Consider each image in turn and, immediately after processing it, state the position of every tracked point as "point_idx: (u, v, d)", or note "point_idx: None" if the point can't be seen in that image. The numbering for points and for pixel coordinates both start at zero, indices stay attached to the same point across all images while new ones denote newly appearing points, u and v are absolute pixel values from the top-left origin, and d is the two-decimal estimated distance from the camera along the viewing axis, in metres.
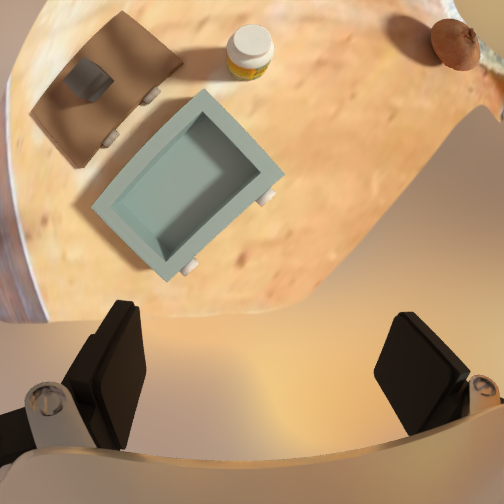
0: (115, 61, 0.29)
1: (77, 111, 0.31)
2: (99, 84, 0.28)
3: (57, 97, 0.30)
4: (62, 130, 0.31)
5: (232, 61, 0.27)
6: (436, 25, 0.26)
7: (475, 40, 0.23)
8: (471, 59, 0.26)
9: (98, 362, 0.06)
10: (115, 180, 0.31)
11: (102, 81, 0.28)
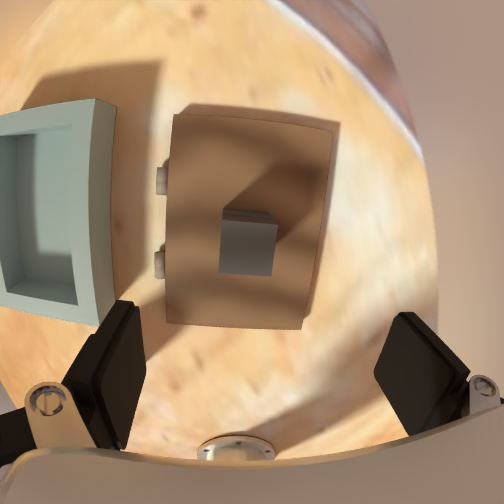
0: None
1: (241, 179, 0.24)
2: None
3: (296, 176, 0.25)
4: (245, 139, 0.23)
5: None
6: None
7: None
8: None
9: (98, 362, 0.06)
10: (86, 158, 0.19)
11: None
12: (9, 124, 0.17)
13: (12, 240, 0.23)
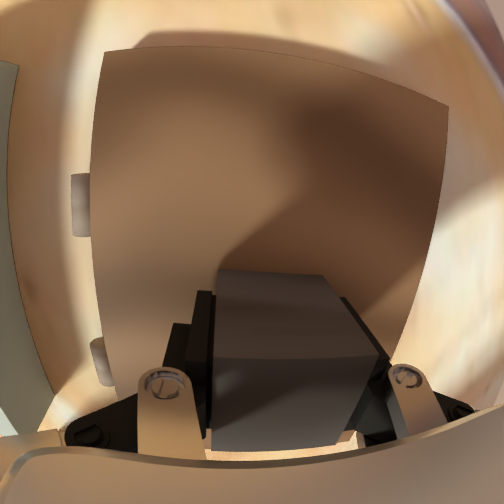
0: None
1: (262, 200, 0.10)
2: None
3: (386, 194, 0.10)
4: (274, 100, 0.09)
5: None
6: None
7: None
8: None
9: (208, 344, 0.07)
10: None
11: None
12: None
13: None
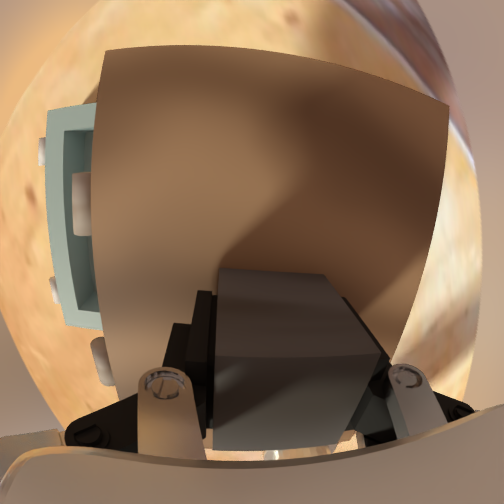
0: None
1: (264, 199, 0.10)
2: None
3: (388, 193, 0.10)
4: (276, 99, 0.09)
5: None
6: None
7: None
8: None
9: (207, 344, 0.07)
10: None
11: None
12: (86, 117, 0.18)
13: (81, 251, 0.24)
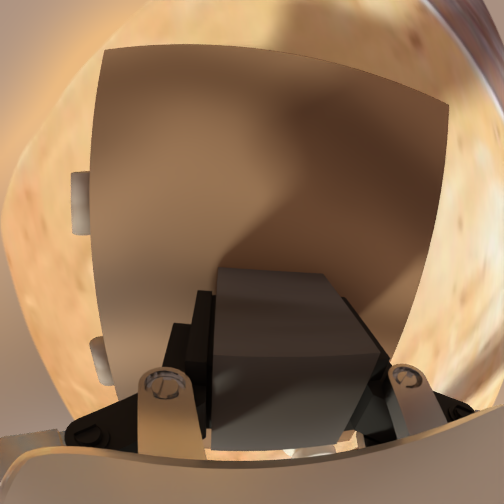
0: None
1: (263, 198, 0.10)
2: None
3: (387, 193, 0.10)
4: (275, 98, 0.09)
5: None
6: None
7: None
8: None
9: (207, 344, 0.07)
10: None
11: None
12: None
13: None
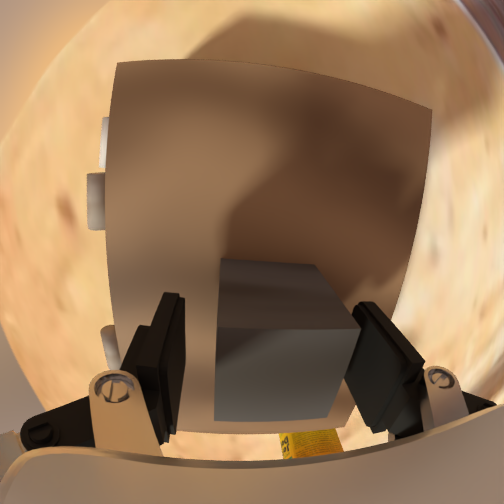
0: None
1: (260, 197, 0.11)
2: None
3: (372, 191, 0.11)
4: (270, 108, 0.10)
5: None
6: None
7: None
8: None
9: (162, 348, 0.06)
10: None
11: None
12: None
13: None
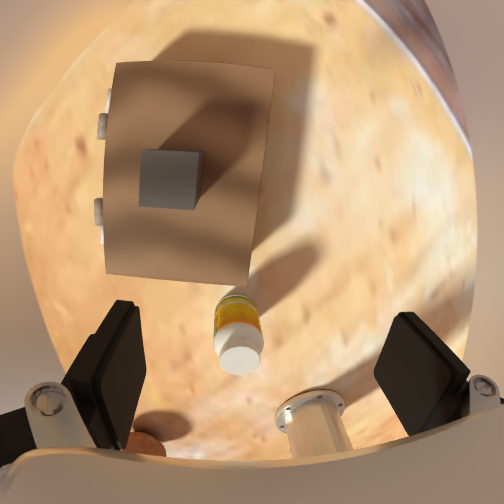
0: (179, 217, 0.25)
1: (176, 119, 0.22)
2: None
3: (234, 114, 0.22)
4: (182, 80, 0.20)
5: (241, 323, 0.29)
6: (163, 453, 0.40)
7: None
8: None
9: (98, 362, 0.06)
10: None
11: None
12: None
13: None
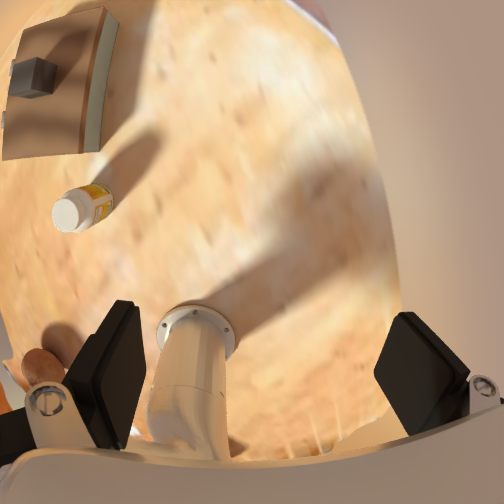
0: (41, 110, 0.25)
1: (46, 51, 0.22)
2: None
3: (76, 38, 0.23)
4: (52, 29, 0.21)
5: (76, 188, 0.29)
6: (57, 370, 0.40)
7: (31, 387, 0.35)
8: (22, 370, 0.36)
9: (98, 362, 0.06)
10: None
11: None
12: None
13: None
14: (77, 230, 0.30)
